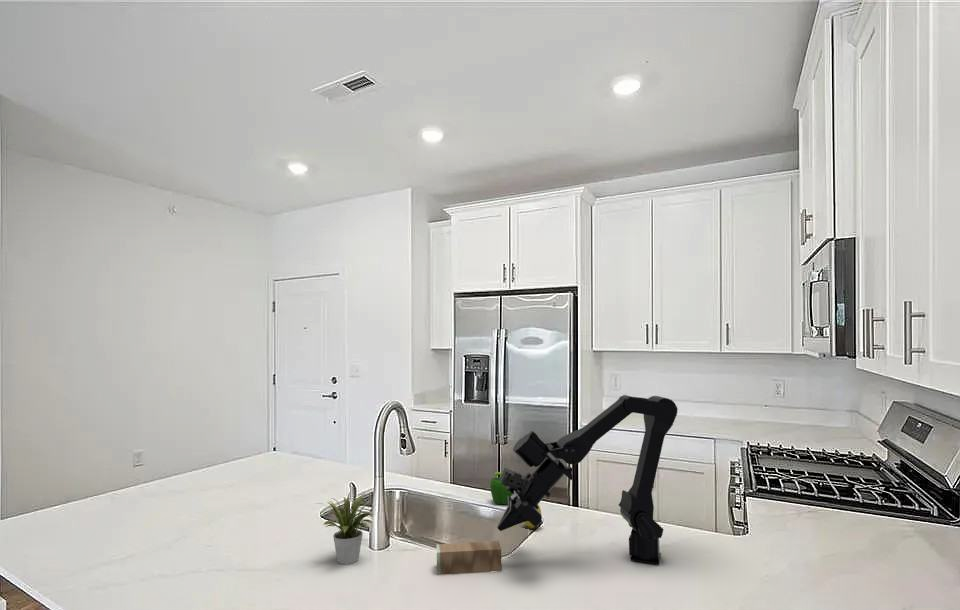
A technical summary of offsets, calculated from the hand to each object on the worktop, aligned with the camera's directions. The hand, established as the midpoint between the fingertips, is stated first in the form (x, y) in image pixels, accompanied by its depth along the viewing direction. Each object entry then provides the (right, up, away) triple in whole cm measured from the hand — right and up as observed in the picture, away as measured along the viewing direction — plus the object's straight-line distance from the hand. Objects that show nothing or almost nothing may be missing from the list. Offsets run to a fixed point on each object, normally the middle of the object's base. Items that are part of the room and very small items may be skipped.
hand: (498, 529), depth 123 cm
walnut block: (0, -6, 0) cm, 6 cm away
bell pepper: (+3, -12, +47) cm, 49 cm away
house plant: (-38, -10, +3) cm, 39 cm away
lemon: (+10, -10, +24) cm, 28 cm away
